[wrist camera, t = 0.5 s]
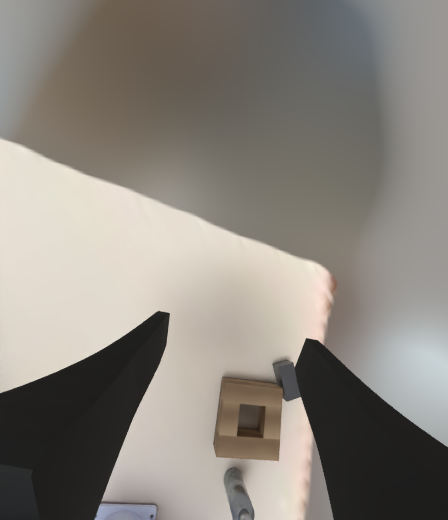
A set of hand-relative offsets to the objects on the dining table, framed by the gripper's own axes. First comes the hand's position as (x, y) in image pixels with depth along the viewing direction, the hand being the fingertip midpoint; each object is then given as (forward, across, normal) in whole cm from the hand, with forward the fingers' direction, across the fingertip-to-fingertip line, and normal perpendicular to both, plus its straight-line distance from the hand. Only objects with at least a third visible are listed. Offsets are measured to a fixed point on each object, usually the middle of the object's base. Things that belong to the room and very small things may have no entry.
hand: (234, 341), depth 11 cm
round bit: (+10, -6, +32) cm, 34 cm away
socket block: (+15, -7, +25) cm, 30 cm away
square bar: (+19, -13, +21) cm, 31 cm away
